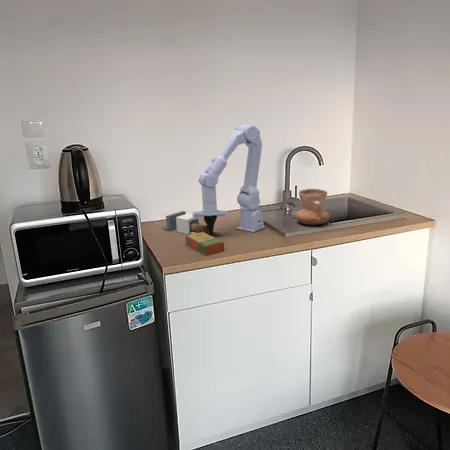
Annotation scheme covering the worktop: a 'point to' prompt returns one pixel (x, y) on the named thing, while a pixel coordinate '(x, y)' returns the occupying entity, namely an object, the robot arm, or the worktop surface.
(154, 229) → the worktop surface
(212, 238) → the carton
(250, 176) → the robot arm
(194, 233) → the guide
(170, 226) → the wall
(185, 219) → the block
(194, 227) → the dowel
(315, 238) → the worktop surface
